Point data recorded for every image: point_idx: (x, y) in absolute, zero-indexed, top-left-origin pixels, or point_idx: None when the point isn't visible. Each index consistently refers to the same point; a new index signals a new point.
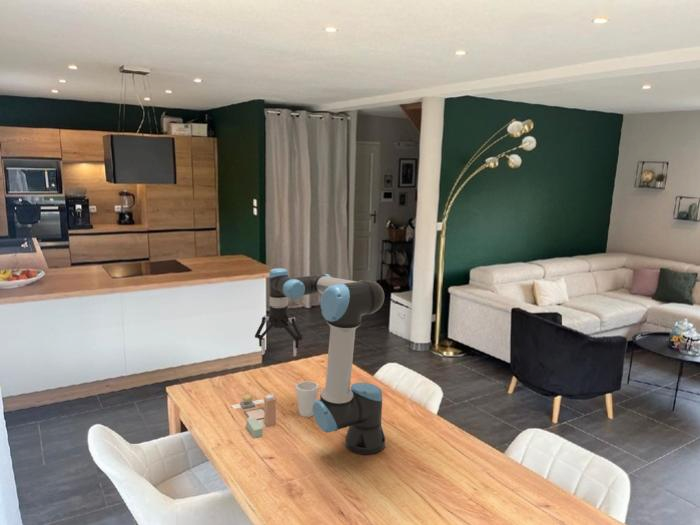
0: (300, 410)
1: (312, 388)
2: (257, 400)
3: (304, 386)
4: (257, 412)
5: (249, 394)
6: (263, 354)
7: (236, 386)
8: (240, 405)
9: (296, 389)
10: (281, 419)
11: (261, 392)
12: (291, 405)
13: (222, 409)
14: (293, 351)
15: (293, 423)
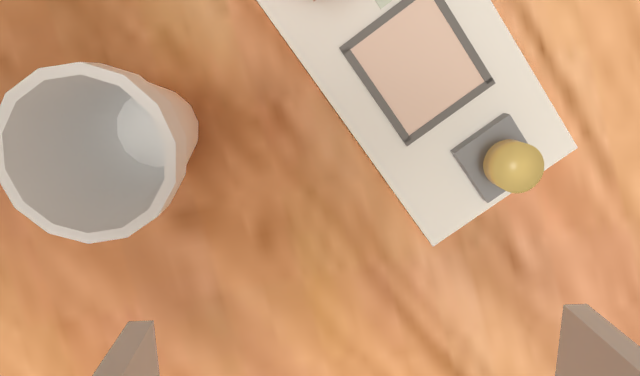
0: (171, 92)
1: (83, 208)
2: (454, 225)
3: (138, 210)
4: (420, 87)
5: (509, 185)
6: (564, 310)
7: None
8: None
9: (159, 102)
10: (278, 56)
11: (457, 328)
12: (268, 219)
13: (611, 113)
14: (126, 363)
15: (202, 21)
